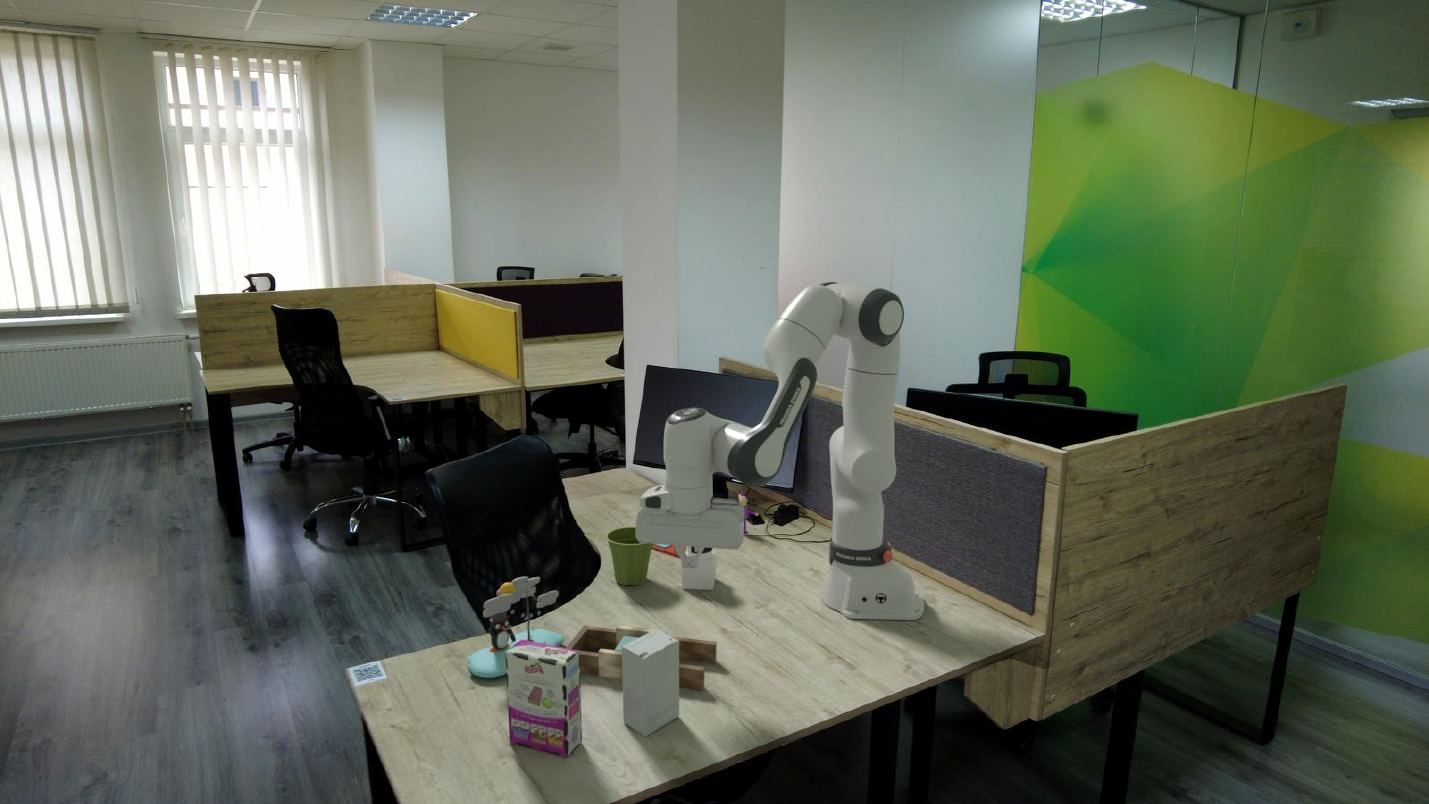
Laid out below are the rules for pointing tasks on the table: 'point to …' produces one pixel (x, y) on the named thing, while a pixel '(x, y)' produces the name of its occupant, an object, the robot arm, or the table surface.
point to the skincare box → (650, 681)
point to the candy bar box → (544, 697)
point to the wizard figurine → (746, 512)
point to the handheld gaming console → (667, 549)
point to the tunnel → (607, 662)
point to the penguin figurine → (494, 657)
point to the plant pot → (629, 556)
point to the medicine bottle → (700, 570)
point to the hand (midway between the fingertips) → (690, 566)
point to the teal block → (625, 642)
